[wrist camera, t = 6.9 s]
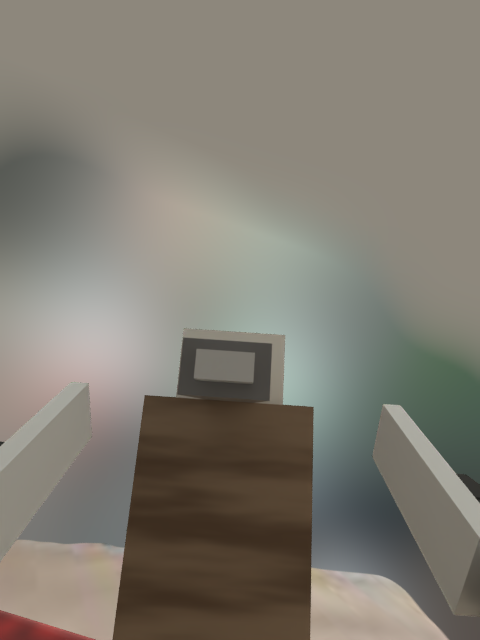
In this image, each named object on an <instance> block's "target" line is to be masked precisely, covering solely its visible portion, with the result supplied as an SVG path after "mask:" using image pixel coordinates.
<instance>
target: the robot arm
mask: <svg viewBox="0 0 480 640" xmlns="http://www.w3.org/2000/svg"><path fill="white" fill-rule="evenodd" d="M91 437H92V427H91V413H90V398H89V384H88V383H77V382H71V383H70V384H69V385H68V386H67V387H65V388H64V389H63V390H62V391H61V392H60V393H59V394H58V395H57V396H56V397H54V398H53V399H52V400H51V401H50V402H49V403H48V404H47V405H46V406H44V407H43V408H42V409H41V410H40V411H39V412H38V413H37V414H36V415H34V416H33V417H32V418H31V419H30V420H29V421H28V422H27V423H26V424H25V425H24V426H22V427H21V428H20V429H19V430H18V431H17V432H16V433H15V434H13V435H12V436H11V437H10V438H9V439H8V440H7V441H6V442H0V562H1V560H2V559H3V557H4V556H5V555H6V553H7V552H8V551H9V549H10V548H11V547H12V545H13V544H14V542H15V541H16V540H17V538H18V537H19V536H20V534H21V533H22V532H23V530H24V529H25V527H26V526H27V525H28V523H29V522H30V521H31V519H32V518H33V517H34V515H35V514H36V512H37V511H38V510H39V508H40V507H41V506H42V504H43V503H44V502H45V500H46V499H47V497H48V496H49V495H50V493H51V492H52V491H53V489H54V488H55V486H56V485H57V484H58V482H59V481H60V480H61V478H62V477H63V476H64V474H65V473H66V471H67V470H68V469H69V467H70V466H71V465H72V463H73V462H74V461H75V459H76V458H77V456H78V455H79V454H80V452H81V451H82V450H83V448H84V447H85V446H86V444H87V443H88V441H89V440H90V439H91ZM372 457H373V459H374V461H375V463H376V465H377V467H378V469H379V471H380V473H381V474H382V477H383V478H384V480H385V482H386V484H387V486H388V488H389V490H390V491H391V494H392V496H393V498H394V500H395V502H396V504H397V505H398V508H399V509H400V511H401V513H402V515H403V517H404V519H405V521H406V523H407V525H408V527H409V529H410V531H411V533H412V535H413V537H414V538H415V540H416V542H417V544H418V546H419V548H420V550H421V552H422V554H423V556H424V558H425V559H426V562H427V564H428V566H429V567H430V570H431V571H432V573H433V575H434V577H435V579H436V581H437V583H438V585H439V587H440V589H441V591H442V593H443V594H444V597H445V599H446V601H447V602H448V604H449V606H450V608H451V610H452V612H453V614H454V615H463V616H476V617H480V484H478V483H477V482H475V481H474V480H473V479H471V478H470V477H469V476H467V475H464V474H456V473H455V472H454V471H453V470H452V468H451V467H450V466H449V465H448V464H447V462H446V461H445V460H444V459H443V457H442V456H441V455H440V454H439V452H438V451H437V450H436V449H435V447H434V446H433V445H432V444H431V443H430V441H429V440H428V439H427V438H426V436H425V435H424V434H423V433H422V431H421V430H420V429H419V428H418V426H417V425H416V424H415V423H414V422H413V420H412V419H411V418H410V417H409V415H408V414H407V413H406V412H405V411H404V409H403V408H402V407H401V406H400V405H388V404H383V406H382V411H381V416H380V422H379V426H378V431H377V437H376V441H375V446H374V451H373V456H372Z"/></svg>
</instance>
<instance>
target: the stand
mask: <svg viewBox="0 0 480 640" xmlns="http://www.w3.org/2000/svg"><path fill="white" fill-rule="evenodd" d="M312 469H313V407H306V406H291V405H278V404H263V403H249V402H234V401H220V400H206V399H191V398H177V397H162V396H148V395H145V399H144V406H143V413H142V420H141V428H140V436H139V443H138V451H137V459H136V466H135V473H134V482H133V489H132V496H131V504H130V511H129V519H128V527H127V534H126V542H125V549H124V557H123V564H122V572H121V580H120V587H119V595H118V602H117V610H116V618H115V625H114V633H113V640H310V609H311V541H312V540H311V539H312V536H311V535H312Z"/></svg>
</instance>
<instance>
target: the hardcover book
mask: <svg viewBox="0 0 480 640" xmlns="http://www.w3.org/2000/svg"><path fill="white" fill-rule="evenodd" d="M0 640H95V639H92V638H88V637H85V636H82V635H79V634H75V633H72V632H69V631H66V630H63V629H59V628H56V627H53V626H50V625H46V624H43V623H40V622H37V621H33V620H30V619H27V618H24V617H21V616H17V615H14V614H11V613H8V612H4V611H1V610H0Z"/></svg>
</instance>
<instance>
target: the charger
mask: <svg viewBox="0 0 480 640" xmlns="http://www.w3.org/2000/svg"><path fill="white" fill-rule="evenodd" d="M284 352H285V335H275V334H260V333H246V332H231V331H215V330H202V329H187V328H184V331H183V340H182V349H181V358H180V367H179V377H178V385H177V395H176V397H177V398H191V399H206V400H220V401H234V402H249V403H263V404H278V405H283V380H284Z"/></svg>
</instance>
